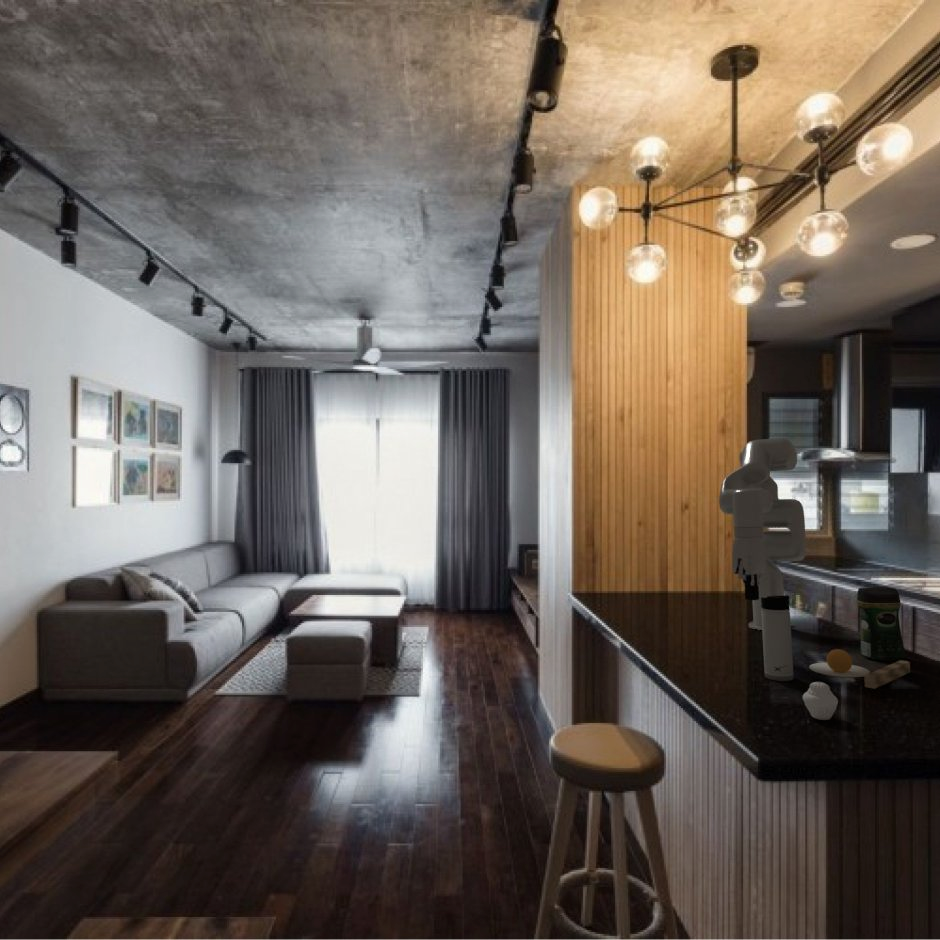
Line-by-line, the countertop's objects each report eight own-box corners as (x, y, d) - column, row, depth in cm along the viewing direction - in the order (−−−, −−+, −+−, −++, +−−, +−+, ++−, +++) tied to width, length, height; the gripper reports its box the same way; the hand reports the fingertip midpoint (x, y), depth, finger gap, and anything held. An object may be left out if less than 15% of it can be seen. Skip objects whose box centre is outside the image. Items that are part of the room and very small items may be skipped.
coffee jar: (893, 654, 171) (889, 585, 172) (910, 661, 164) (905, 589, 164) (855, 654, 173) (851, 585, 173) (870, 661, 165) (865, 589, 166)
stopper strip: (901, 670, 156) (900, 660, 156) (910, 672, 154) (909, 661, 154) (864, 686, 144) (864, 675, 144) (874, 688, 142) (873, 677, 142)
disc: (824, 660, 167) (824, 659, 167) (879, 670, 156) (879, 669, 156) (799, 669, 159) (799, 668, 159) (855, 680, 149) (855, 679, 149)
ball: (852, 646, 156) (860, 669, 154) (832, 648, 160) (839, 671, 159) (839, 650, 153) (846, 673, 152) (818, 652, 158) (825, 674, 156)
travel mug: (783, 683, 148) (778, 597, 149) (759, 676, 154) (754, 594, 155) (800, 679, 151) (796, 594, 152) (776, 672, 157) (771, 591, 158)
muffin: (811, 710, 130) (809, 675, 130) (843, 717, 125) (841, 681, 126) (798, 717, 126) (796, 681, 126) (832, 725, 121) (829, 688, 122)
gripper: (750, 531, 185) (754, 595, 184) (721, 534, 176) (724, 601, 175) (775, 532, 179) (779, 597, 178) (746, 535, 170) (750, 604, 169)
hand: (752, 599), depth 176 cm, fingers closed
